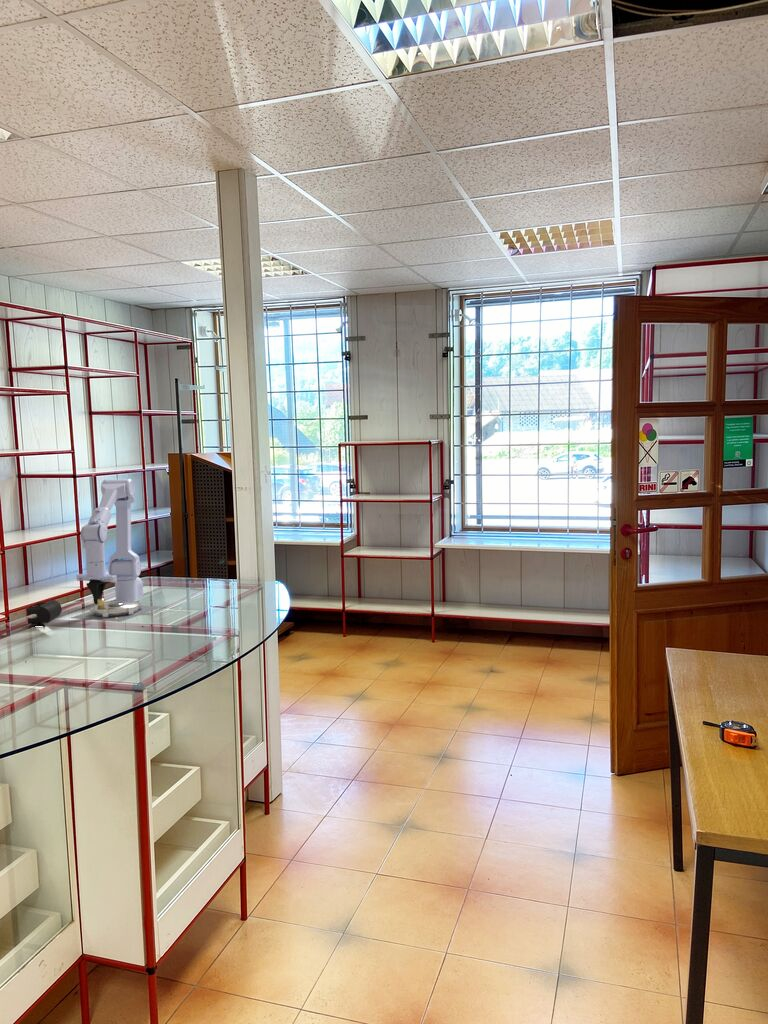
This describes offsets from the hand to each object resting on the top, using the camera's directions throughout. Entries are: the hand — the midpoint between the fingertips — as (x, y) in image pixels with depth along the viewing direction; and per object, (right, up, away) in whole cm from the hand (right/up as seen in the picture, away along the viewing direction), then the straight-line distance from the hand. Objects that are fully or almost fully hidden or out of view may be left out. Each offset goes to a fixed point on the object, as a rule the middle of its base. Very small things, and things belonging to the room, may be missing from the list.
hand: (98, 603), depth 232 cm
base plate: (+5, -5, +4) cm, 8 cm away
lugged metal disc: (+4, -3, +4) cm, 7 cm away
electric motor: (-16, -6, -2) cm, 17 cm away
